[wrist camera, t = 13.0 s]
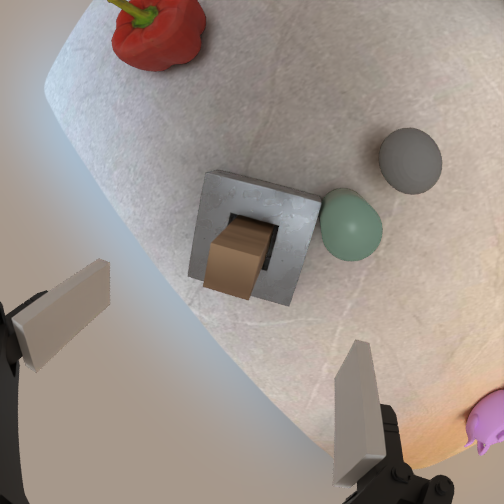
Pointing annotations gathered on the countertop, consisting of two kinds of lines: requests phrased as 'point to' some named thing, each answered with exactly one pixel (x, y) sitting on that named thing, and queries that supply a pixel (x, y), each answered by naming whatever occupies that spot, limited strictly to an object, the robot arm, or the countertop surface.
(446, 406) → the countertop surface
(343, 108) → the countertop surface
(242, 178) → the bore block
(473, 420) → the teapot
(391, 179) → the light bulb
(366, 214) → the green round bit
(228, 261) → the walnut square peg
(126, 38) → the vegetable
